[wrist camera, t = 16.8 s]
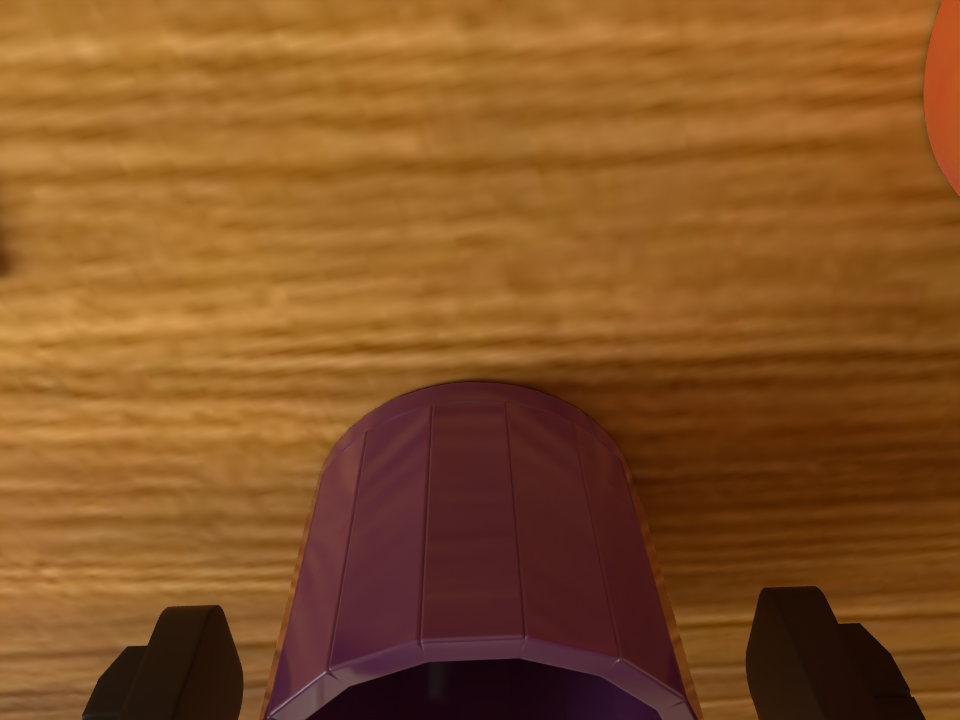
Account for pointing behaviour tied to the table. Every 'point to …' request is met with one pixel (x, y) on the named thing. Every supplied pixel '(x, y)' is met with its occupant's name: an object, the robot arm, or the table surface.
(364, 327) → the table surface
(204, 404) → the table surface
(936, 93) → the coffee cup
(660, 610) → the purple faceted tumbler
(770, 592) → the robot arm
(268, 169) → the table surface
